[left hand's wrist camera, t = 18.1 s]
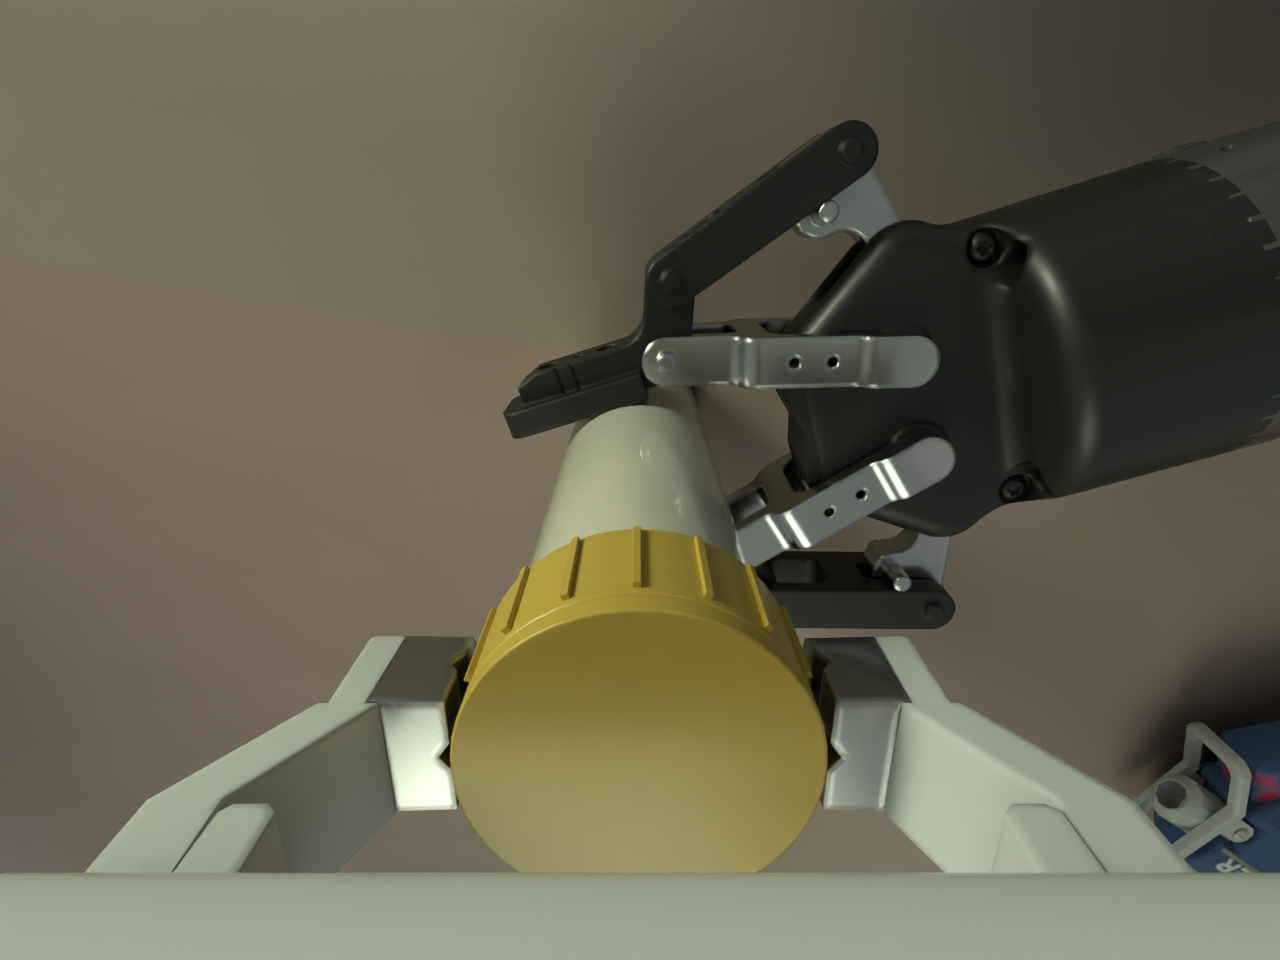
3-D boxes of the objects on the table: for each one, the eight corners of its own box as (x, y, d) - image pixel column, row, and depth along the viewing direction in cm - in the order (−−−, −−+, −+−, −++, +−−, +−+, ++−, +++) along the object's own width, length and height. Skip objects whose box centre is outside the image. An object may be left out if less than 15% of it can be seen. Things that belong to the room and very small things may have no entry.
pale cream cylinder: (706, 447, 25) (816, 818, 10) (600, 473, 26) (538, 870, 10) (680, 339, 24) (762, 567, 8) (568, 368, 24) (440, 639, 8)
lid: (536, 475, 9) (507, 546, 7) (851, 583, 10) (906, 677, 8) (446, 737, 11) (402, 856, 9) (722, 816, 11) (740, 945, 9)
